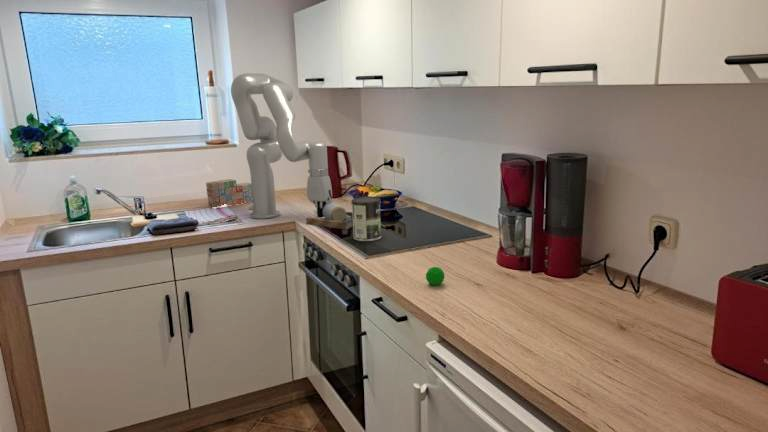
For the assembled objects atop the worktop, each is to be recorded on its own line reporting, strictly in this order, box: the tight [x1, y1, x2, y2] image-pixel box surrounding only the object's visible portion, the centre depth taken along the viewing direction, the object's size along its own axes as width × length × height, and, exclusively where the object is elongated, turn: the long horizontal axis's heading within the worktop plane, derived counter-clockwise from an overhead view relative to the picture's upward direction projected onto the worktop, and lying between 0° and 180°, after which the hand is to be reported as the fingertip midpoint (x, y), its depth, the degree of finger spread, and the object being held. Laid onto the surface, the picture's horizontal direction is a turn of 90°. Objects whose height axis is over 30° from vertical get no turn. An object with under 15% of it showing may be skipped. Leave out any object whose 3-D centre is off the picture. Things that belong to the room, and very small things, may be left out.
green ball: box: [425, 266, 445, 286], centre depth 149 cm, size 5×5×5 cm
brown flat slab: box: [305, 211, 353, 230], centre depth 222 cm, size 20×16×3 cm
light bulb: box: [323, 202, 351, 222], centre depth 222 cm, size 11×8×8 cm
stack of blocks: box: [205, 178, 253, 209], centre depth 262 cm, size 21×6×12 cm, turn 133°
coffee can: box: [351, 196, 382, 242], centre depth 196 cm, size 10×10×14 cm
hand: (321, 216), depth 226 cm, fingers closed
